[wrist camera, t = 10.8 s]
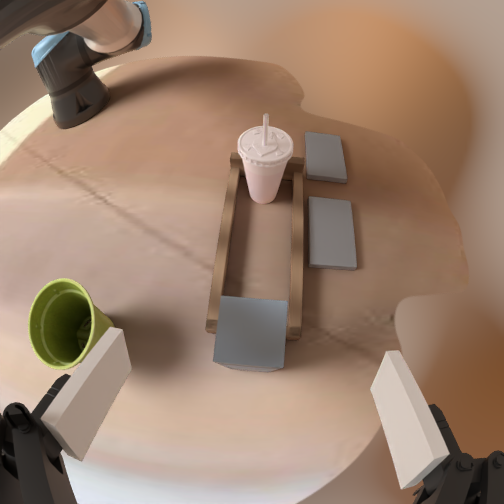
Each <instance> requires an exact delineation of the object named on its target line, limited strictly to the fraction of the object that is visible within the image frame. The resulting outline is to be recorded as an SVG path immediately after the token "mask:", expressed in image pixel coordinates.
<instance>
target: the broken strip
mask: <svg viewBox="0 0 504 504" xmlns="http://www.w3.org/2000/svg"><path fill="white" fill-rule="evenodd" d="M305 148H306V168H307V179H313V180H322V181H330V182H338V183H346V182H347V173H346V167H345V161H344V155H343V150H342V144H341V139H340V136H337V135H330V134H323V133H315V132H307V131H306V132H305ZM308 267H314V268H327V269H341V270H355V269H356V268H357V262H356V249H355V237H354V227H353V218H352V209H351V201H347V200H339V199H330V198H321V197H312V196H309V198H308Z"/></svg>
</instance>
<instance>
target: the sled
mask: <svg viewBox="0 0 504 504" xmlns="http://www.w3.org/2000/svg"><path fill="white" fill-rule="evenodd" d="M230 163H231V169H230V175H229V180H228V186H227V191H226V197H225V203H224V209H223V215H222V221H221V227H220V233H219V239H218V245H217V252H216V258H215V265H214V271H213V278H212V285H211V292H210V299H209V306H208V314H207V321H206V329H205V330H206V331H207V332H208V333H216V340H215V348H214V357H213V362H216V363H218V364H220V365H223V366H225V367H228V368H230V369H237V370H247V371H259V372H270V371H274V370H277V369H281V368H284V354H285V339H287V340H299V339H300V338H301V320H302V291H303V176H302V172H303V168H304V158H299V157H291V158H290V159H289V160H288V161H287V164H286V167H285V170H284V173H283V176H282V179H285V180H292V243H291V274H290V298H289V318H288V326H286V322H287V304H288V301H280V300H267V299H255V298H243V297H232V296H223V293H224V285H225V277H226V270H227V262H228V255H229V247H230V240H231V233H232V226H233V219H234V212H235V205H236V198H237V191H238V185H239V178H240V176H246V174H245V169H244V164H243V160H242V158H241V156H240V155H239V153H231V157H230Z"/></svg>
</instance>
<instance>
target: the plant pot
mask: <svg viewBox="0 0 504 504" xmlns="http://www.w3.org/2000/svg"><path fill="white" fill-rule="evenodd" d="M88 320H91V322H90V323H89V324H87V325H86V326H85V324H86V322H87V321H88ZM84 326H85V327H84ZM109 327H114V328H115V326H114V324H113V322H112V321H111V320H110V319H109V318H108V317H107V316H106V315H105V314H104V313H102V312H101V311H100V310H99V309H98V308H97V307H96V306H95V305H94V304H93V302H92V299H91V297H90V295H89V294H88V292H87V291H86V290H85V288H84V287H83V286H82V285H80V284H79V283H78V282H76V281H74V280H71V279H66V278H62V279H56V280H54V281H52V282H50V283H48V284H47V285H45V286H44V287H43V288H42V289H41V291H40V292H39V293H38V294H37V296H36V298H35V299H34V302H33V304H32V306H31V309H30V313H29V319H28V332H29V339H30V343H31V346H32V348H33V350H34V352H35V354H36V356H37V357H38V358H39V360H40V361H41V362H42V363H43V364H45V365H46V366H48V367H50V368H52V369H56V370H65V369H69V368H72V367H74V366H76V365H77V364H78V363H81V362H82V361H83V360H84V359H85V357H86V356H87V355H88V354H89V352H90V351H91V350H92V348H93V347H94V346H95V345H96V343H97V342H98V341H99V340H100V338H101V337H102V336H103V335H104V334H105V332H106V331H107V330H108V329H109ZM82 344H84V345H85V349H84V348H83V346H82Z"/></svg>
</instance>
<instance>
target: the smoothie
mask: <svg viewBox="0 0 504 504" xmlns="http://www.w3.org/2000/svg"><path fill="white" fill-rule="evenodd" d="M268 124H269V114H264V115H263V126H257V127H253V128H250V129H248V130H246V131H245V132H244V133H242V135H241V136H240V137H239V140H238V153H239V155H240V156H241V158H242V160H243V164H244V169H245V174H246V179H247V183H248V188H249V193H250V197H251V198H252V200H254V201H255V202H257V203H260V204H267V203H270V202H272V201H273V200H274V199H275V197H276V194H277V191H278V188H279V185H280V182H281V179H282V176H283V173H284V170H285V167H286V164H287V161H288V160H289V159H290V158H291V156H292V154H293V141H292V139H291V137H290V136H289V135H288V134H287V133H286V132H284V131H283V130H281V129H278V128H276V127H271V126H268Z"/></svg>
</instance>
